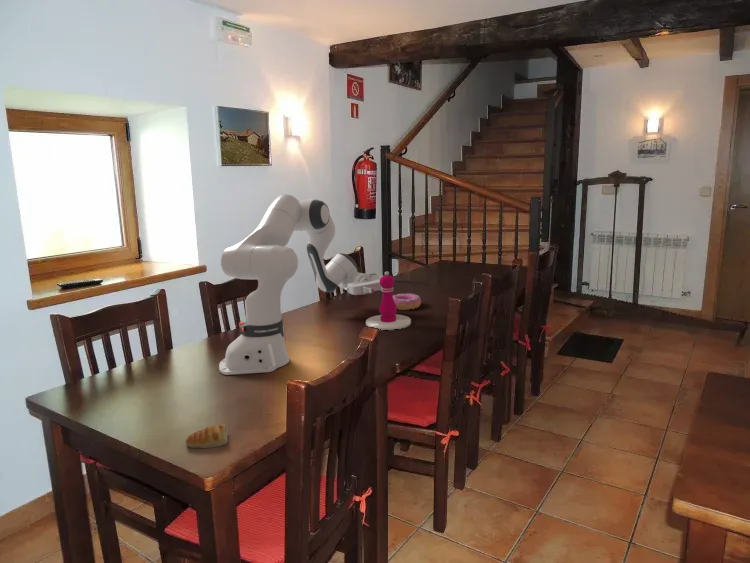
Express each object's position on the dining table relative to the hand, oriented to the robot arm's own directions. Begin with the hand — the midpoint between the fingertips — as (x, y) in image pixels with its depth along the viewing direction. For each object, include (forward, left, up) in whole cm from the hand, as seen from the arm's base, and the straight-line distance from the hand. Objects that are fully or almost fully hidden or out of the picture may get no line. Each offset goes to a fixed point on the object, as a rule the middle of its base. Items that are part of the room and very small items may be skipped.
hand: (381, 288), depth 215 cm
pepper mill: (+1, -4, -12) cm, 13 cm away
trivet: (+1, -4, -14) cm, 14 cm away
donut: (+16, +20, -14) cm, 29 cm away
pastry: (-66, -80, -14) cm, 104 cm away
